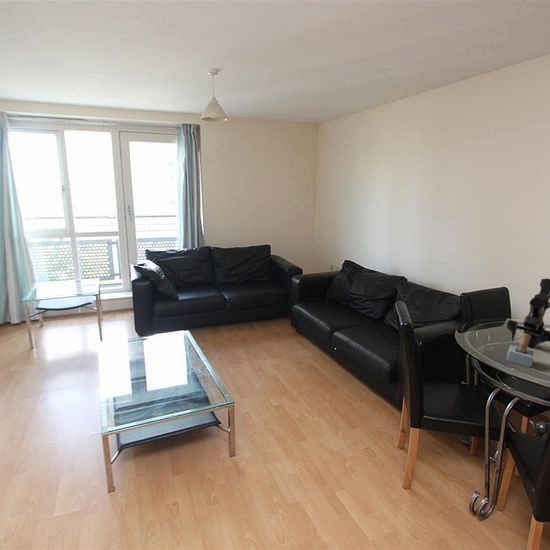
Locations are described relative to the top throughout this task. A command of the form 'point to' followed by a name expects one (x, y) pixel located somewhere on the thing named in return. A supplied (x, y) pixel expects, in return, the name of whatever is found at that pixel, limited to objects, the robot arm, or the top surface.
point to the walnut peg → (524, 343)
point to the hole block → (520, 356)
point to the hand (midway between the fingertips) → (522, 344)
